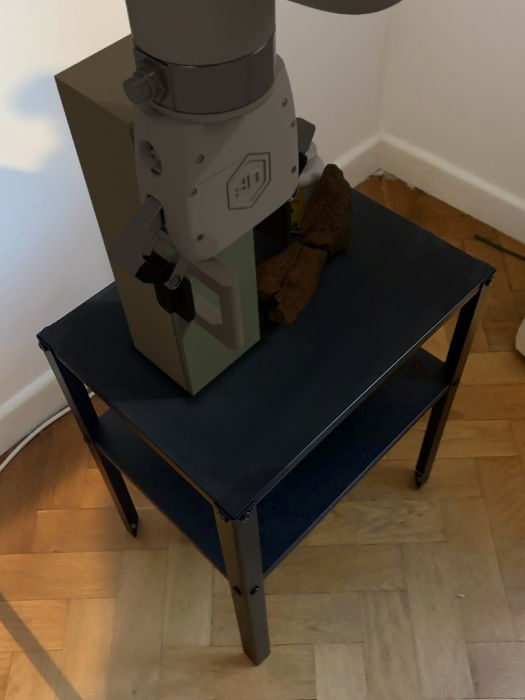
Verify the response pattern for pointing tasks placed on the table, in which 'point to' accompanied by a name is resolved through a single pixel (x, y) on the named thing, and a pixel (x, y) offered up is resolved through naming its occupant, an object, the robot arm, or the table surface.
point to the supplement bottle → (306, 186)
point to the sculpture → (308, 249)
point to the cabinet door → (218, 311)
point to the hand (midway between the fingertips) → (227, 271)
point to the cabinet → (116, 185)
